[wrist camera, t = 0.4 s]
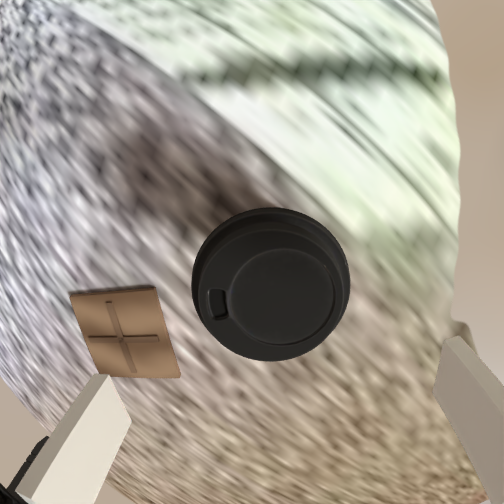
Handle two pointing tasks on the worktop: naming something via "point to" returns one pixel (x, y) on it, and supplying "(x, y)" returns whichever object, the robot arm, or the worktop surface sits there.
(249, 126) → the worktop surface
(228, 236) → the coffee cup
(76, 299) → the plate
